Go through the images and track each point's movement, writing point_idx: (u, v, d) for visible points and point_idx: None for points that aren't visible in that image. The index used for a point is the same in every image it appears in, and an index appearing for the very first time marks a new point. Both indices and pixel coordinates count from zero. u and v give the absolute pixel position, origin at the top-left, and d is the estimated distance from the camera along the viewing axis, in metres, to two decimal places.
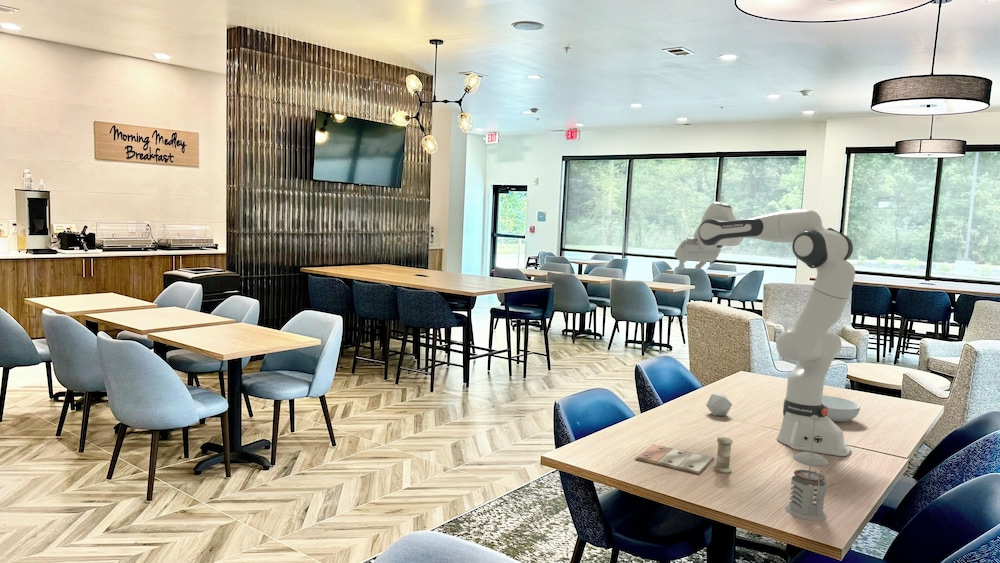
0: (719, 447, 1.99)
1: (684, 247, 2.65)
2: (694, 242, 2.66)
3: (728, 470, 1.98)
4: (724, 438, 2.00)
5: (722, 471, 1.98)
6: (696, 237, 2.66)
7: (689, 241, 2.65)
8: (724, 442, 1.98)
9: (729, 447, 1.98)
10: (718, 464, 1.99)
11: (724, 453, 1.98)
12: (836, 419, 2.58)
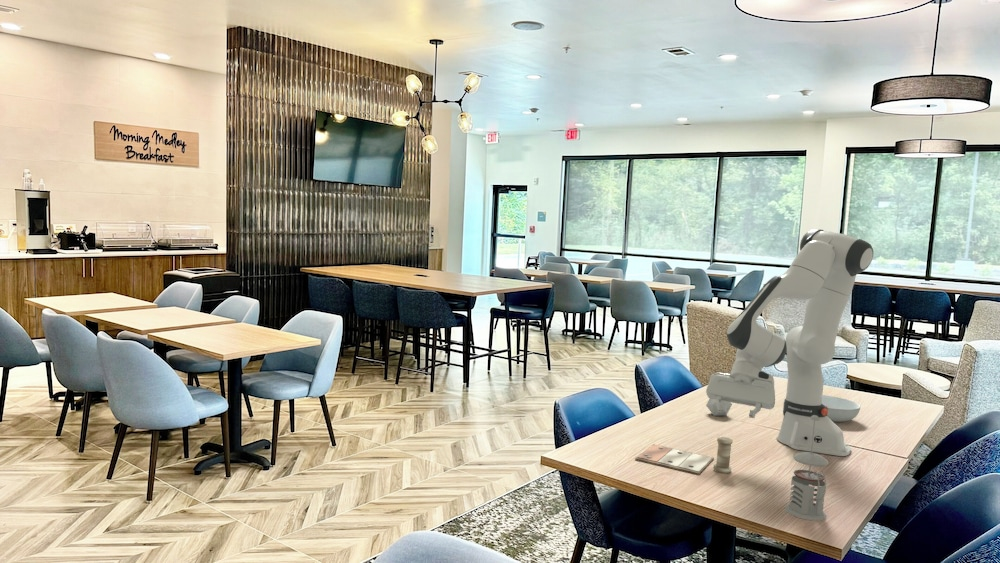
0: (719, 447, 1.99)
1: None
2: (728, 377, 2.18)
3: (728, 470, 1.98)
4: (724, 438, 2.00)
5: (722, 471, 1.98)
6: None
7: (718, 375, 2.20)
8: (724, 442, 1.98)
9: (729, 447, 1.98)
10: (718, 464, 1.99)
11: (724, 453, 1.98)
12: (836, 419, 2.58)
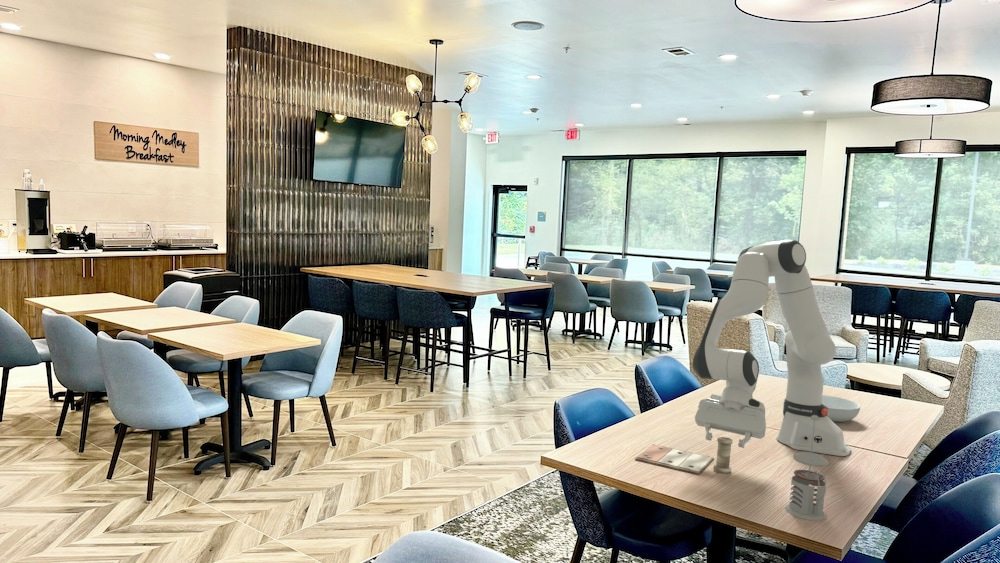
0: (719, 447, 1.99)
1: None
2: None
3: (728, 470, 1.98)
4: (724, 438, 2.00)
5: (722, 471, 1.98)
6: None
7: (708, 401, 2.13)
8: (724, 442, 1.98)
9: (729, 447, 1.98)
10: (718, 464, 1.99)
11: (724, 453, 1.98)
12: (836, 419, 2.58)
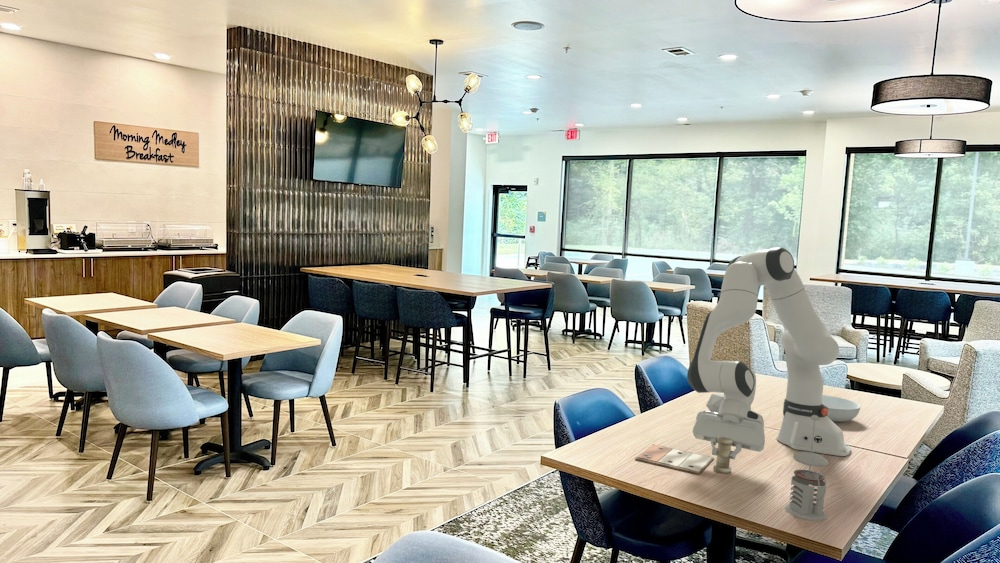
0: (719, 447, 1.99)
1: None
2: (715, 416, 2.08)
3: (728, 470, 1.98)
4: (724, 438, 2.00)
5: (722, 471, 1.98)
6: None
7: (706, 413, 2.10)
8: (724, 442, 1.97)
9: (729, 447, 1.98)
10: (718, 464, 1.99)
11: (724, 453, 1.98)
12: (836, 419, 2.58)
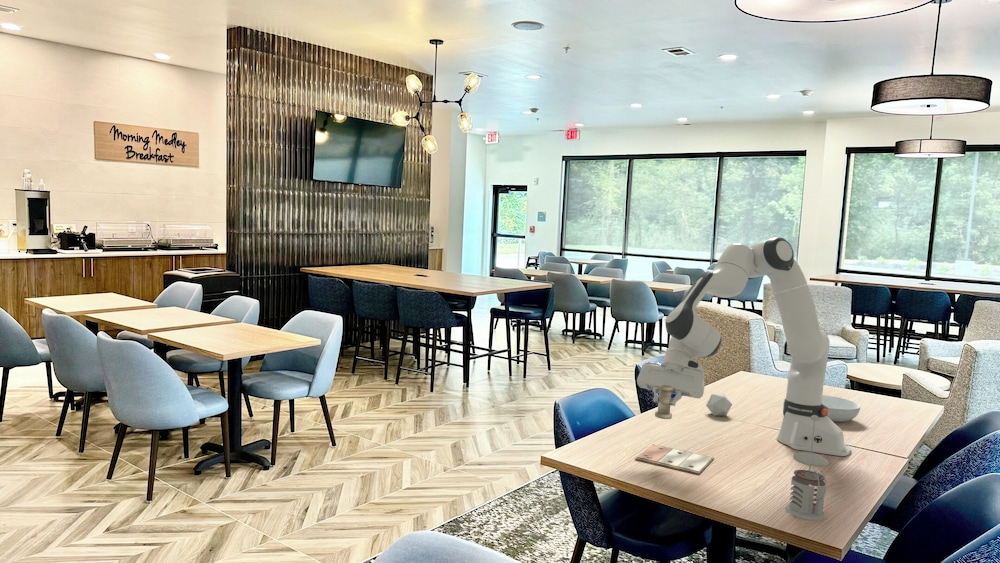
0: (660, 394, 2.07)
1: None
2: None
3: (668, 416, 2.06)
4: (665, 386, 2.08)
5: (662, 417, 2.06)
6: None
7: (650, 364, 2.18)
8: (664, 389, 2.06)
9: (669, 394, 2.06)
10: (659, 410, 2.07)
11: (665, 399, 2.06)
12: (836, 419, 2.58)
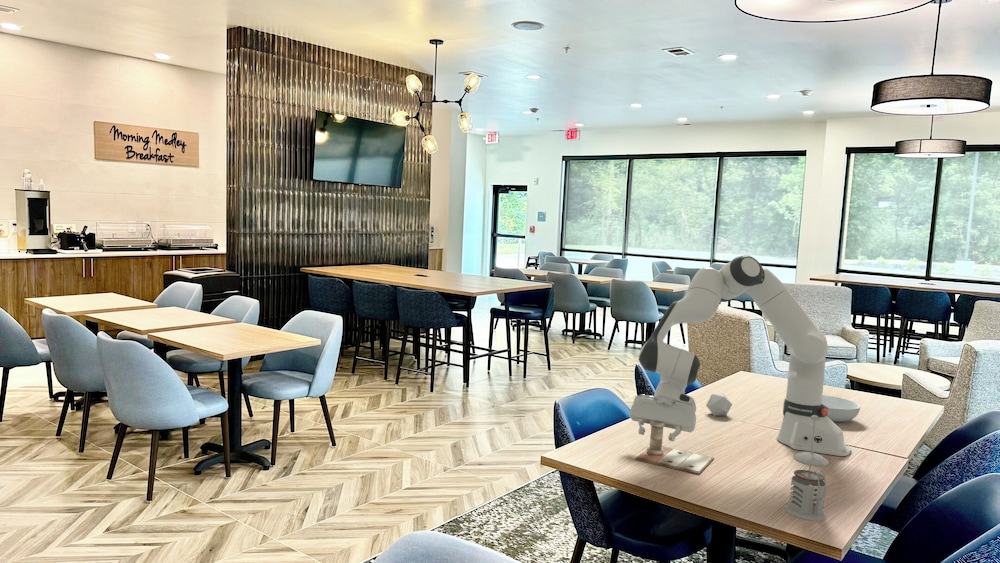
0: (652, 430, 2.09)
1: None
2: (651, 399, 2.18)
3: (660, 452, 2.08)
4: (657, 422, 2.10)
5: (654, 453, 2.08)
6: None
7: (643, 397, 2.20)
8: (656, 425, 2.08)
9: (661, 430, 2.08)
10: (651, 447, 2.09)
11: (656, 436, 2.08)
12: (836, 419, 2.58)
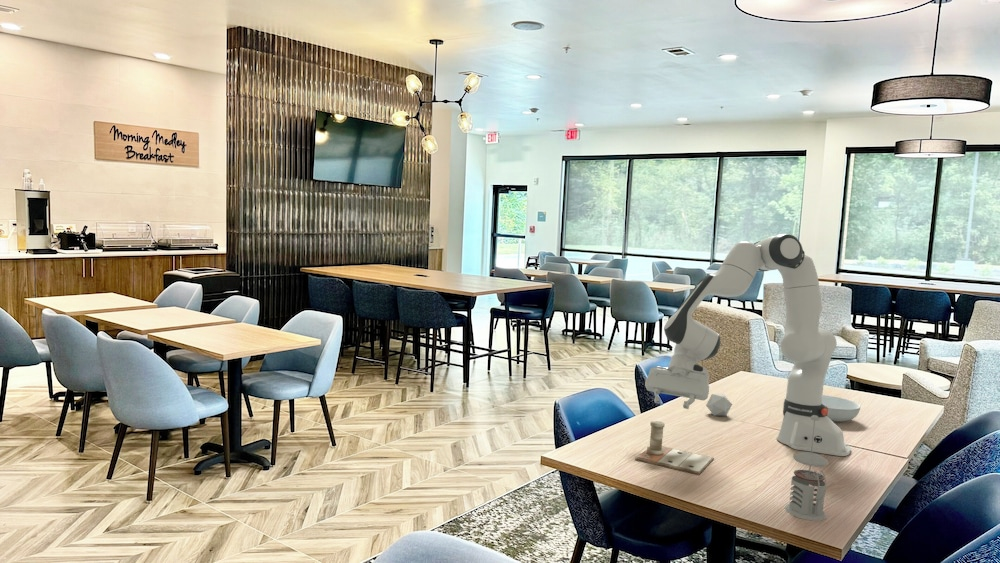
0: (652, 430, 2.09)
1: None
2: None
3: (660, 452, 2.08)
4: (657, 422, 2.10)
5: (654, 453, 2.08)
6: None
7: (657, 368, 2.30)
8: (656, 425, 2.08)
9: (661, 430, 2.08)
10: (651, 447, 2.09)
11: (656, 436, 2.08)
12: (836, 419, 2.58)
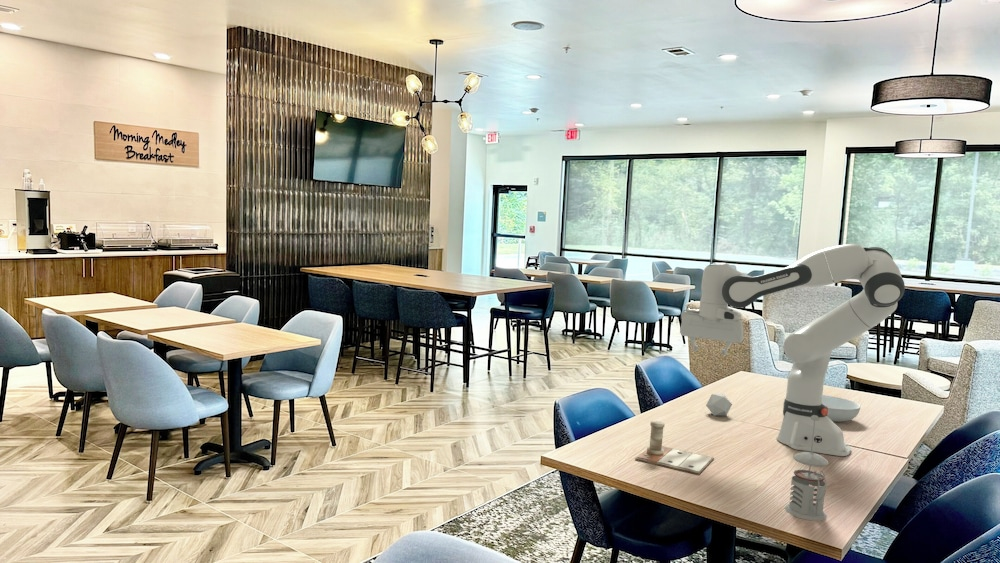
0: (652, 430, 2.09)
1: (682, 319, 2.31)
2: (697, 314, 2.29)
3: (660, 452, 2.08)
4: (657, 422, 2.10)
5: (654, 453, 2.08)
6: None
7: (689, 312, 2.31)
8: (656, 425, 2.08)
9: (661, 430, 2.08)
10: (651, 447, 2.09)
11: (656, 436, 2.08)
12: (836, 419, 2.58)
